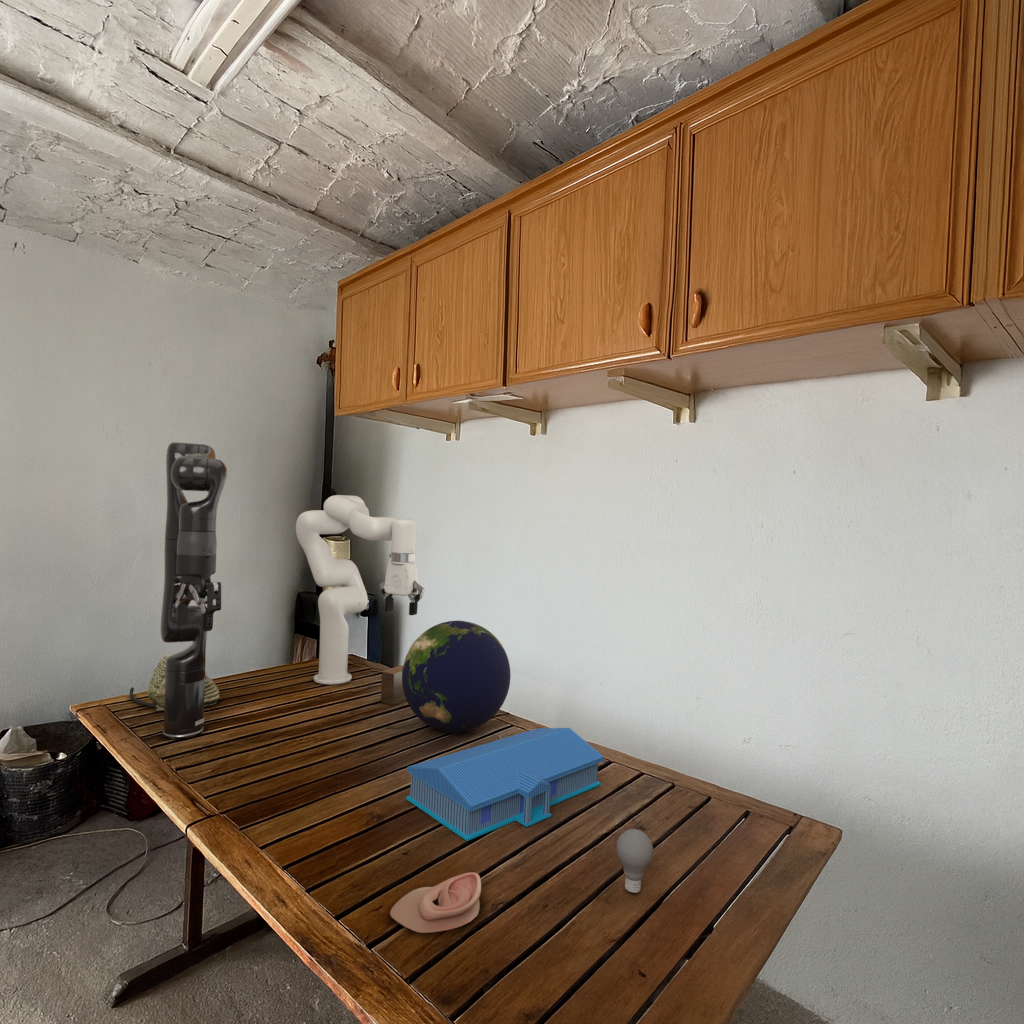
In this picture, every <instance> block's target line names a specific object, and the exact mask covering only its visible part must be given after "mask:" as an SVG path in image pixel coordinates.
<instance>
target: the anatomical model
mask: <svg viewBox="0 0 1024 1024" xmlns="http://www.w3.org/2000/svg"><path fill="white" fill-rule="evenodd" d="M481 894H482V880H481V876H480V875H479V874H478V873H477V872H475V871H473V872H464V873H462V874H458V875H455V876H453V877H450V878H448V879H446V880H444V881H442V882H439V883H438V884H435V885H434V886H423V887H419V888H415V889H413V890H411V891H409V892H408V893H406V894H405V895H403V896H402V897H401V898H400V899H399V900H398V901H397V902H395V904H394V905H392V907H391V909H390V911H389V916H390V917H391V918H392V919H393V920H394V921H395V922H397V923H398V924H399V925H400V926H403V927H405V928H406V929H408V930H411V931H413V932H415V933H420V934H427V933H429V934H430V933H438V932H444V931H450V930H454V929H457V928H460V927H462V926H464V925H466V924H468V923H470V922H472V921H473V920H474V919H476V917H477V916H478V915H479V912H480V907H481V902H480V896H481Z"/></svg>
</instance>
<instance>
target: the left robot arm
mask: <svg viewBox="0 0 1024 1024" xmlns="http://www.w3.org/2000/svg"><path fill="white" fill-rule="evenodd" d="M215 452H216V451H215V449H214V448H213V447H212V446H210V445H208V444H204V443H195V442H194V443H192V442H179V441H178V442H177V441H176V442H174V441H173V442H171V443H169V445H168V446H167V449H166V454H165V455H166V457H165V470H166V473H165V475H166V515H165V517H166V519H165V530H164V531H165V532H164V578H163V579H164V580H163V581H164V582H163V593H162V602H161V603H162V605H161V615H160V626H159V627H160V630H159V631H160V638H161V640H162V641H163V642H164V643H170V644H171V643H172V644H173V643H189V642H192V644H190V645H189V646H188V647H186V648H184V649H183V650H181V651H179V652H175V653H173V654H170V655H171V656H169V657H168V658H167V660H166V674H165V705H164V710H163V730H162V737H164V738H166V739H169V740H185V739H190V738H191V739H192V738H194V737H197V736H199V735H202V734H203V732H204V730H205V729H204V727H205V725H204V723H205V706H204V693H205V672H206V664H207V663H206V656H207V655H206V654H207V653H206V652H207V637H208V632H211V631H212V630H213V627H214V613H216V612H219V611H221V610H222V582H221V581H212V579H211V576H212V575H214V574H216V573H217V546H218V545H217V544H218V543H217V541H218V540H217V532H216V531H217V514H218V507H219V502H220V498H221V495H222V492H223V490H224V488H225V484H226V481H227V478H228V468H227V466H226V464H225V463H224V462H223V461H222V460H221V459H218V458H216V453H215ZM184 491H188V492H207V495H206V497H204V498H202V499H200V500H197V501H196V500H195V501H190V502H188V500H187V497H186V496H185V494H184ZM192 601H195V604H196V605H191V604H190V603H191V602H192ZM214 601H215V603H214ZM134 690H135V688H134V687H130V690H129V697H130V700H132V701H133V702H135V703H136V704H139V705H141V706H146V707H151V708H155V709H156V706H155V703H153V702H147V701H143V700H140V699H138V698H136V697H135V695H134Z"/></svg>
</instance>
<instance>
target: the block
mask: <svg viewBox="0 0 1024 1024" xmlns="http://www.w3.org/2000/svg"><path fill="white" fill-rule="evenodd" d="M402 670H403V665H398V666H394V667H391V668H388V669H384V670H382V671H381V682H380V683H381V684H380V685H381V687H380V703H382V704H386V705H391V706H394V705H397V704H400V703H402V702H405V701H407V700H406V698H405V695H404V691H403V686H402Z"/></svg>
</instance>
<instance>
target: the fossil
mask: <svg viewBox="0 0 1024 1024" xmlns="http://www.w3.org/2000/svg"><path fill="white" fill-rule="evenodd" d="M171 655H172V654H165V655H164V656H163V657H162V658H161V659H160V660H159V662H158V663H157V666H156V667H155V669H154V670H153V672H152V675H151V677H150V680H149V684H148V688H147V697H148V699H149V700H150V701H152V703H153V704H155V706H156V708H155V711H158V712H159V711H162V712H163V711H164V705H165V674H166V660H167V658H168V657H169V656H171ZM220 698H221V696H220V690H219V688H218V686H217V685H216V683H215V682H214V681H213V679H212V678H211V677H209V675H208V674H207V672H206V671H205V693H204V707H207V706H213V705H215V704H217V703H218V701H219V699H220Z"/></svg>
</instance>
